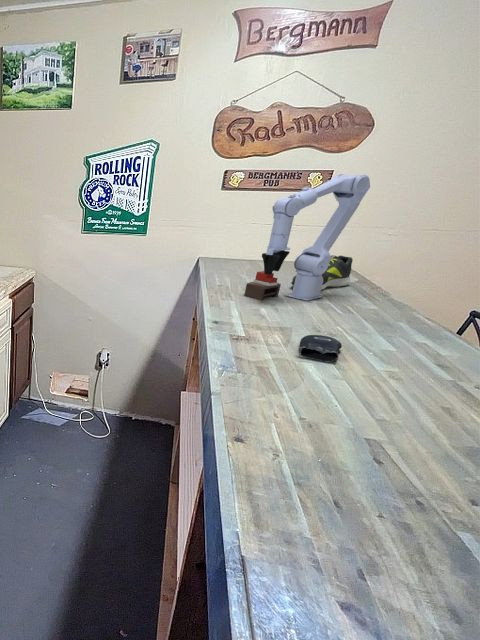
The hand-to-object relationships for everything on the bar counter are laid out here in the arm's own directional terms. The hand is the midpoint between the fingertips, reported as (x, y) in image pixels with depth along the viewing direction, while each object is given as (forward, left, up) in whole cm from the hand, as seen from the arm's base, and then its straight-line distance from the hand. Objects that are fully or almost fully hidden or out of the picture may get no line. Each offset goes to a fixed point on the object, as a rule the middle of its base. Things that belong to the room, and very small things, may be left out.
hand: (271, 272), depth 165 cm
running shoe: (-38, -3, -11) cm, 39 cm away
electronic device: (+34, +39, -11) cm, 53 cm away
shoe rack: (-4, -5, -10) cm, 12 cm away
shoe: (-4, -4, -5) cm, 8 cm away
